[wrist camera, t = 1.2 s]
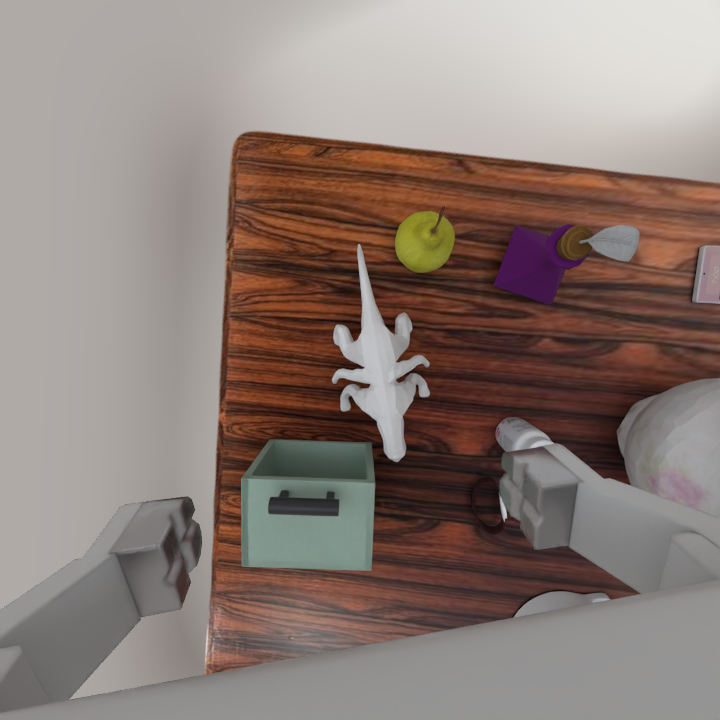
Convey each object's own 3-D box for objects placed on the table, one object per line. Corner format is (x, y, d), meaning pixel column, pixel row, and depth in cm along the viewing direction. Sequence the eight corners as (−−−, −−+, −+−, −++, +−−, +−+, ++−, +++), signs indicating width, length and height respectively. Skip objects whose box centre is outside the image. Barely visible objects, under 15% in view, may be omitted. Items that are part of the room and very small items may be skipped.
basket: (368, 510, 51) (372, 593, 36) (269, 507, 51) (231, 589, 36) (371, 442, 49) (376, 498, 34) (269, 438, 49) (230, 493, 34)
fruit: (433, 283, 47) (458, 273, 35) (384, 264, 46) (392, 247, 35) (453, 232, 46) (486, 203, 34) (403, 212, 46) (419, 176, 34)
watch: (505, 522, 51) (516, 538, 47) (472, 528, 51) (481, 544, 47) (498, 471, 50) (509, 484, 46) (465, 477, 50) (473, 490, 46)
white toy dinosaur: (348, 447, 50) (345, 481, 40) (313, 264, 46) (300, 251, 37) (435, 432, 49) (454, 462, 39) (405, 247, 46) (417, 229, 36)
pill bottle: (516, 455, 50) (548, 484, 41) (487, 438, 49) (513, 464, 41) (536, 427, 49) (572, 450, 41) (507, 409, 49) (537, 429, 40)
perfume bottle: (484, 287, 47) (560, 271, 29) (505, 231, 46) (597, 178, 28) (538, 306, 47) (646, 301, 29) (559, 250, 46) (685, 209, 28)
